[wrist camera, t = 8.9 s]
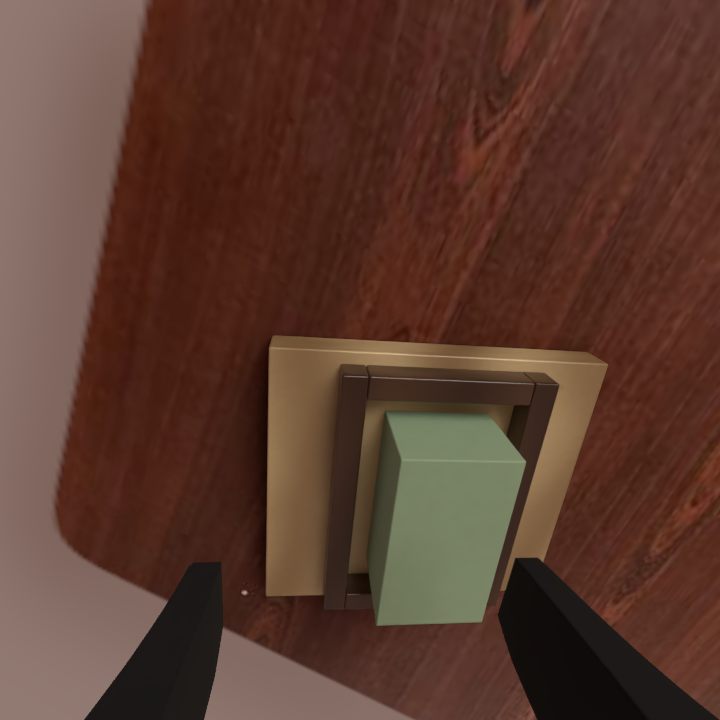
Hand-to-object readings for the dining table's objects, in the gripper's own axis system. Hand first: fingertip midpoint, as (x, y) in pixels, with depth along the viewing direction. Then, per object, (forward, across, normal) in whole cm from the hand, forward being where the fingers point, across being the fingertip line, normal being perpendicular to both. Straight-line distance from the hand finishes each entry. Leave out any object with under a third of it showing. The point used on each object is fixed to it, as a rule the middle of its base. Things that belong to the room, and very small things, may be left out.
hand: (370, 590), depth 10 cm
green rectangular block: (+8, -4, +3) cm, 9 cm away
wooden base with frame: (+9, -4, +3) cm, 10 cm away
